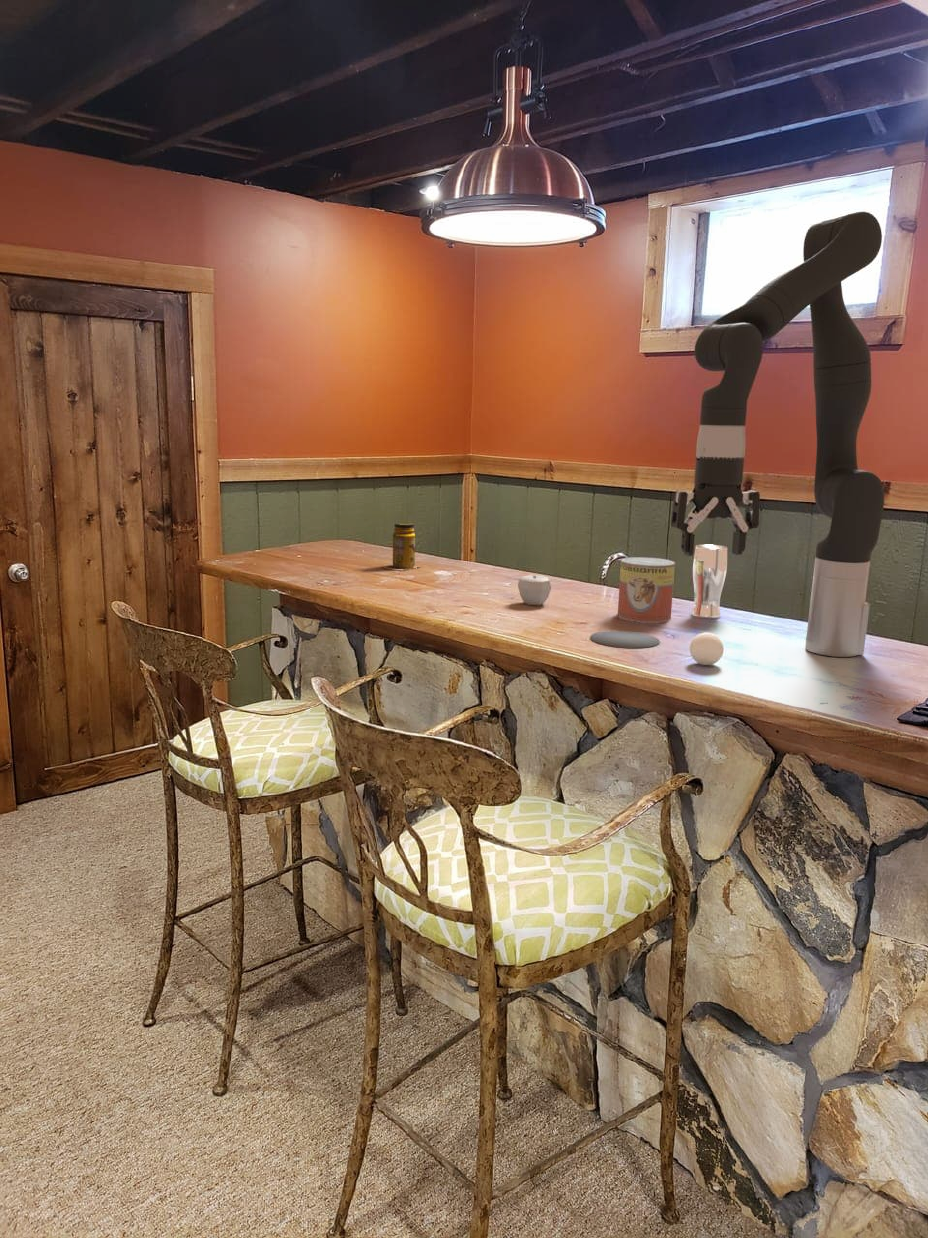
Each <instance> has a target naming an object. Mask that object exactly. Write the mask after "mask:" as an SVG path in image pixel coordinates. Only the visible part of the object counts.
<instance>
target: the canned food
mask: <svg viewBox="0 0 928 1238" xmlns="http://www.w3.org/2000/svg"><path fill="white" fill-rule="evenodd" d="M675 565H676V562H675V561H674V560H670V559H666V558H657V557H649V556H648V557H646V556H633V557H629V556H628V557H623V558H621V559H620V571H619V574H620V575H619V587H618V589H619V591H618V604H617V614H616V616H617V617H618V618H619V619H622V620H624V619H626V620H625V621H628V620H631V621H630V622H634V621H636V622H635V623H642V622H661V623H666V621H667V622H669V620H670V621H671V620H672V617H671V616H672V608H673V607H672V606H673V605H672V604H673V592H674V579H675V570H676V569H675V567H676V566H675Z"/></svg>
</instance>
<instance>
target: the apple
mask: <svg viewBox="0 0 928 1238" xmlns="http://www.w3.org/2000/svg"><path fill="white" fill-rule="evenodd" d="M517 587H518V591H519V595H520V598H521V599H522V601H523V603H524V604H525V605H528V606H541V605H543V604H545V602H546V601H547V600H548V598H549V596H550V593H551V591H552V590H551V589H552V585H551V581H550V579H549V577H548V576H544V575H539V574H538V575H537V574H530V575H524V576H520V577H519V579H518V582H517Z"/></svg>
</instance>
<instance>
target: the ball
mask: <svg viewBox="0 0 928 1238" xmlns="http://www.w3.org/2000/svg"><path fill="white" fill-rule="evenodd" d="M724 649H725V648H724V644H723V642H722V640H721V638H720V637H719V636H717V635H716V634H714V633H712V632H701V633H699V634H697V635H696V636H694V638H692V641H690V644H689V653H690V656H691V658H692V659H693V661H694V662H696V663H697V664H699V665H703V666H711V665H714V664H716V663H718V662H719V661H720V659H722V656H723V654H724V651H725V650H724Z"/></svg>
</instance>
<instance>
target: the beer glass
mask: <svg viewBox="0 0 928 1238" xmlns="http://www.w3.org/2000/svg"><path fill="white" fill-rule="evenodd" d="M727 567H728V547H727V546H725V545H718V544H707V543H706V544H696V545H695V550H694V553H693V564H692V579H693V580H692V581H693V589H694V590H693V591H694V597H693V598H694V600H693V605H692V608H691V612H690V614H691V616H693V617H695V618H700V619H709V620H710V619H713V620H714V619H718V618H721V608H720V607H721V605H720V604H721V603H720V602H721V595H722V591H723V588H724V584H725V581H726V580H725V579H726V576H727V569H728V568H727Z"/></svg>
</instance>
